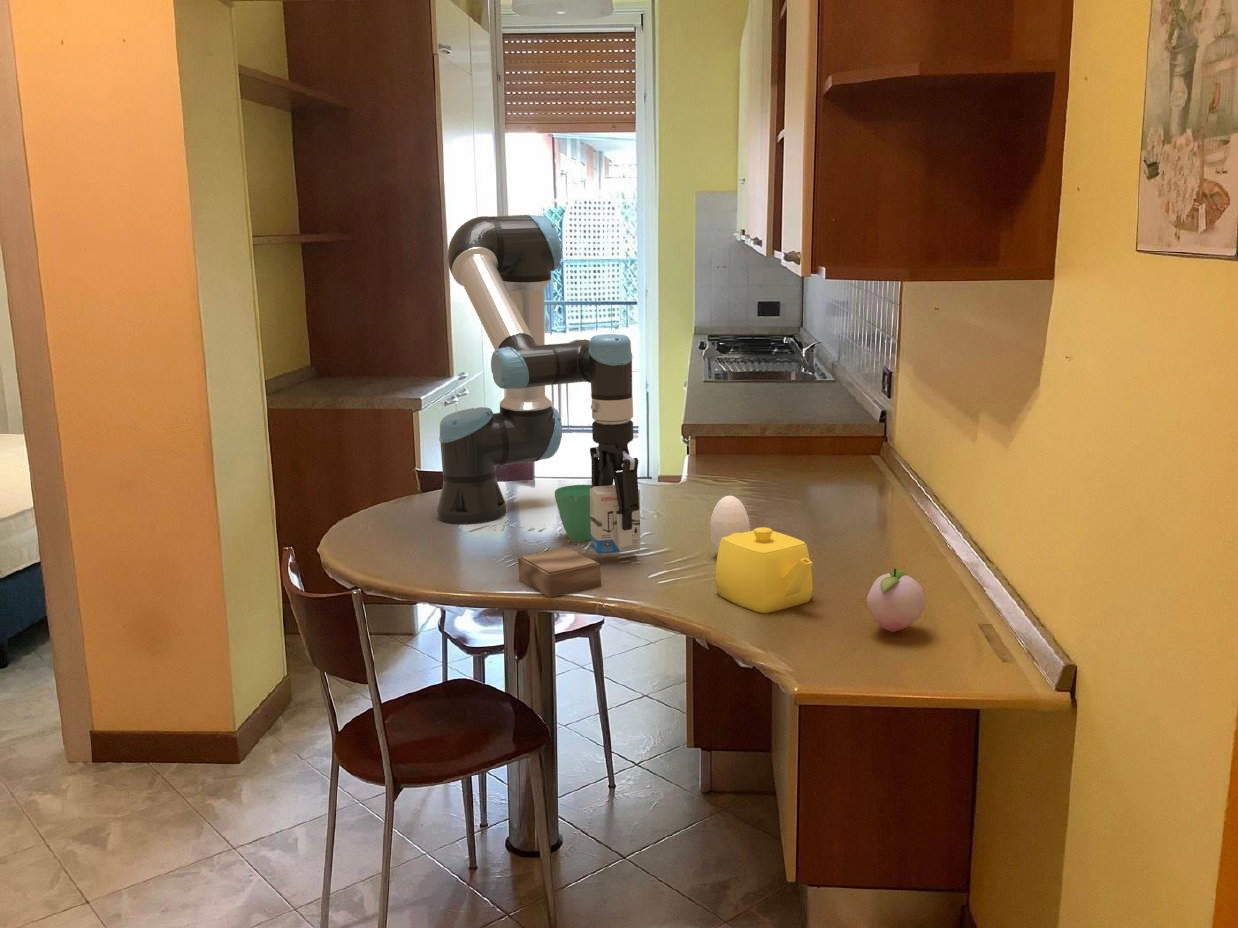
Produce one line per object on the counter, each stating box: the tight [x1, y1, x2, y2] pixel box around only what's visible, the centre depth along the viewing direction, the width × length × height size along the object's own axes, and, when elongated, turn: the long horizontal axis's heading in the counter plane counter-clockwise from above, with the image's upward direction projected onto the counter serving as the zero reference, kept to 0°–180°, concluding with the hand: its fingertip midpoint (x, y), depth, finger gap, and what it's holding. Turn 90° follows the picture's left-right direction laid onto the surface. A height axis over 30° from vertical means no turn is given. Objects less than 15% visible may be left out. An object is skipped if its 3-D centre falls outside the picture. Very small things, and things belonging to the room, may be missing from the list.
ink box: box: [590, 484, 641, 555], centre depth 194 cm, size 9×5×12 cm, turn 106°
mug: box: [554, 484, 592, 542], centre depth 211 cm, size 15×10×10 cm
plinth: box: [517, 547, 602, 599], centre depth 183 cm, size 12×10×4 cm
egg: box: [709, 495, 751, 552], centre depth 194 cm, size 7×7×12 cm
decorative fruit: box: [866, 567, 926, 633], centre depth 155 cm, size 9×8×10 cm
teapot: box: [715, 526, 814, 614], centre depth 171 cm, size 20×12×12 cm, turn 32°
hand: (615, 541), depth 195 cm, fingers closed on ink box, 6 cm apart
